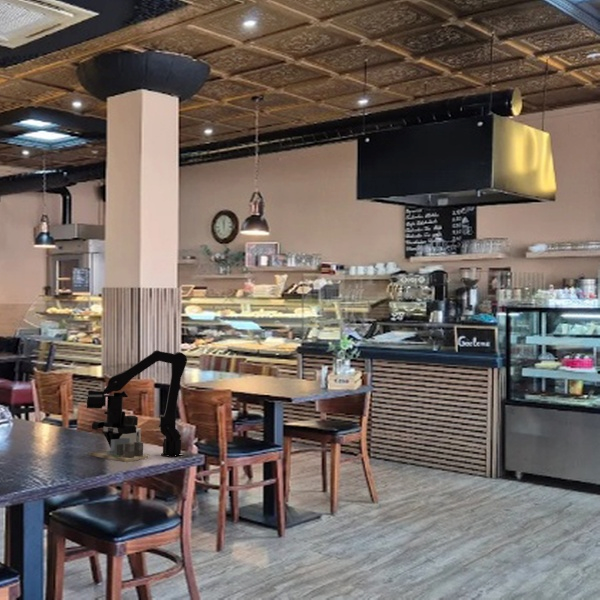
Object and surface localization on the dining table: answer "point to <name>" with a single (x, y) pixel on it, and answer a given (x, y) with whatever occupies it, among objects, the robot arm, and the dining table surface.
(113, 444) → the grey rectangular block
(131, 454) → the gauge board
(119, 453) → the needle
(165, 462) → the dining table surface
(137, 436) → the container
